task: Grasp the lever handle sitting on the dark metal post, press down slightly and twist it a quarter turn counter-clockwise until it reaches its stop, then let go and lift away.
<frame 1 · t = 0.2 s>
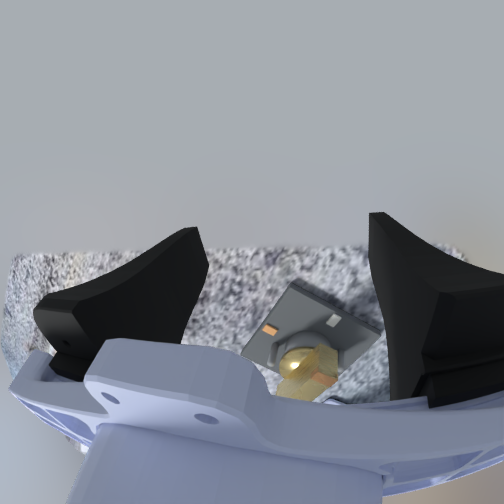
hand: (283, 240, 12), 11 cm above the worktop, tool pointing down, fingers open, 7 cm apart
post base: (308, 342, 27), on the worktop
lever handle: (304, 381, 23), point 5 cm above the worktop, hinge at 0.0°
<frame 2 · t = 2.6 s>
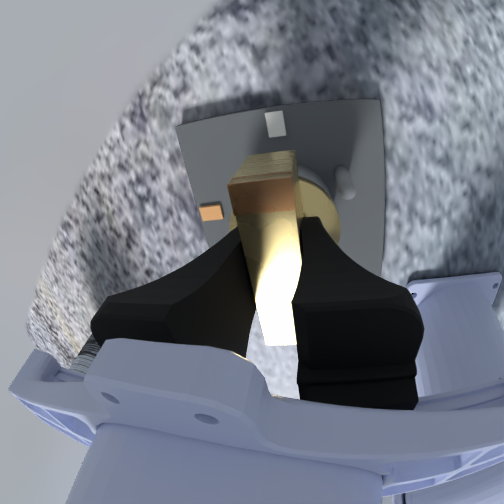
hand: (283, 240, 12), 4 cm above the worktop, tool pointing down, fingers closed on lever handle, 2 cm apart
supplement bottle: (127, 334, 26), on the worktop
post base: (289, 198, 16), on the worktop
lever handle: (281, 249, 11), point 5 cm above the worktop, hinge at 0.0°, touching gripper
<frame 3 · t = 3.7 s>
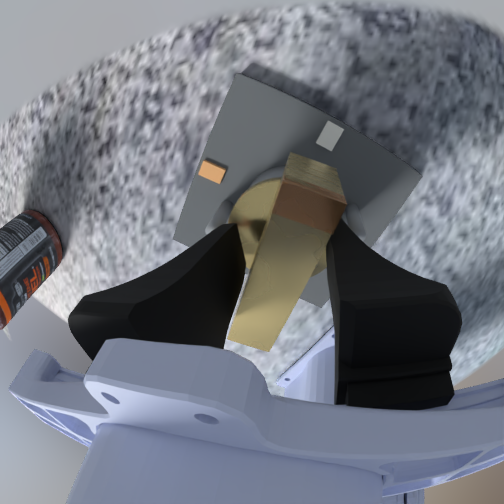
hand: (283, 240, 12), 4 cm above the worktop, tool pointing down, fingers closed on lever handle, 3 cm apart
supplement bottle: (43, 236, 21), on the worktop
post base: (289, 201, 15), on the worktop
lever handle: (280, 254, 11), point 5 cm above the worktop, hinge at 8.4°, touching gripper
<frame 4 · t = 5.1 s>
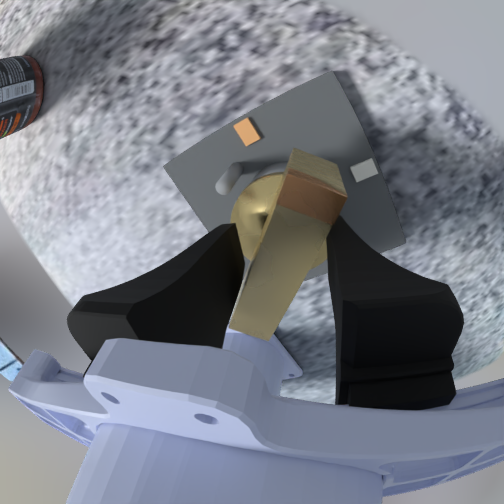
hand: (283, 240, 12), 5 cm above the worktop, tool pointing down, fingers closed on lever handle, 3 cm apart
supplement bottle: (26, 90, 14), on the worktop
post base: (290, 195, 16), on the worktop
lever handle: (282, 245, 12), point 5 cm above the worktop, hinge at 42.0°, touching gripper
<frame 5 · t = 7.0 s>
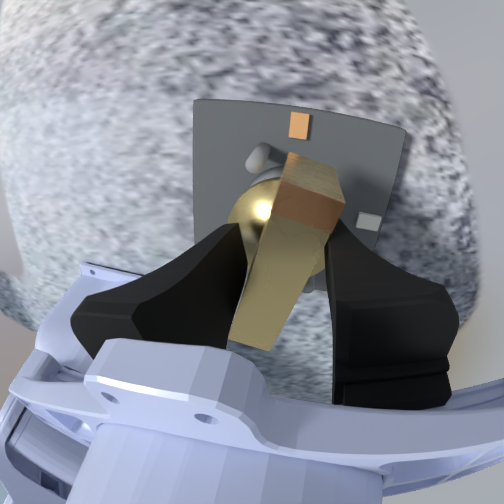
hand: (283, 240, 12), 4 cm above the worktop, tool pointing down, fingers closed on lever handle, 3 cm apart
post base: (289, 200, 15), on the worktop
lever handle: (280, 253, 11), point 5 cm above the worktop, hinge at 79.0°, touching gripper
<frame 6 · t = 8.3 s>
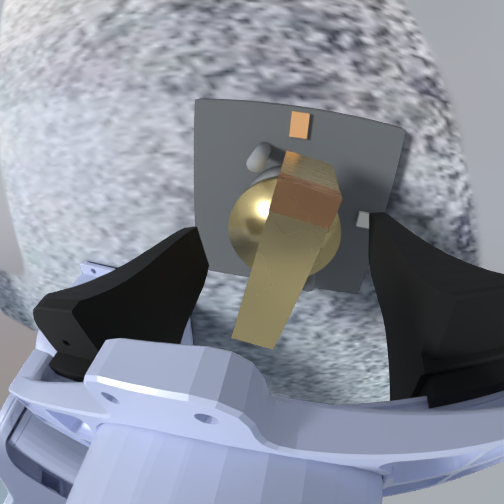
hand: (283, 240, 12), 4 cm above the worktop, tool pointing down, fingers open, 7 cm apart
post base: (289, 199, 15), on the worktop
lever handle: (281, 252, 11), point 5 cm above the worktop, hinge at 81.0°
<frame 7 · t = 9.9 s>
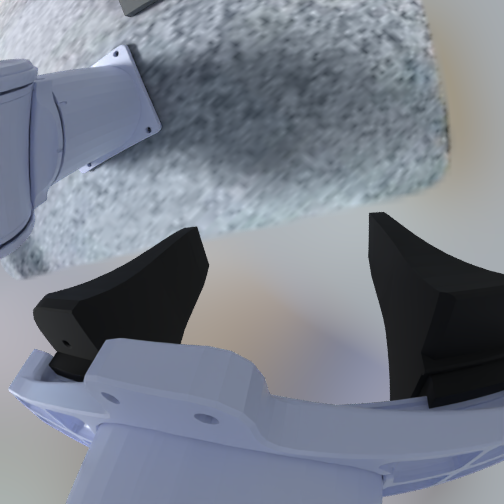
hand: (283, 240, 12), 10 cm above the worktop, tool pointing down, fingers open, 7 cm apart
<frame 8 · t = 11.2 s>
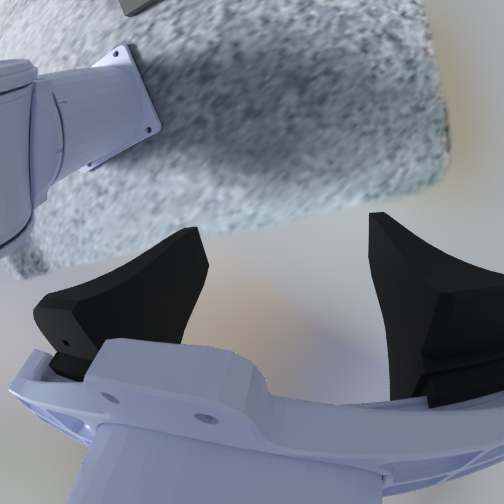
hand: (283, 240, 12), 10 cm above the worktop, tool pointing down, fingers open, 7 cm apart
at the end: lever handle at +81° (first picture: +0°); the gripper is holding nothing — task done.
